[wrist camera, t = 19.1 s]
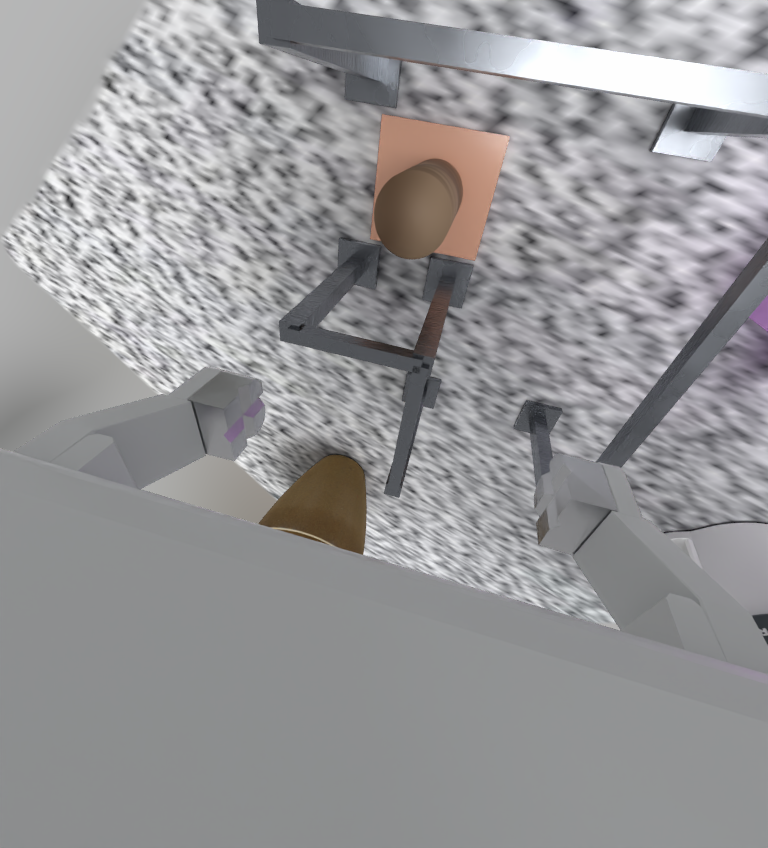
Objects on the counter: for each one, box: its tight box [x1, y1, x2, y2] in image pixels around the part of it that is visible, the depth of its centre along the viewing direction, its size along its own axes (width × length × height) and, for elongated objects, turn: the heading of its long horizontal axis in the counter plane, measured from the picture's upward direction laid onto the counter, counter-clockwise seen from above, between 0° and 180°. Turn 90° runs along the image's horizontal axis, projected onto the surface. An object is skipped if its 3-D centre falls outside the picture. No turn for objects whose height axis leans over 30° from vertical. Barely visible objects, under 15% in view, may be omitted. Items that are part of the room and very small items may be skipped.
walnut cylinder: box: [374, 159, 463, 259], centre depth 27 cm, size 5×5×10 cm
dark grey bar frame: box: [256, 0, 768, 518], centre depth 28 cm, size 31×27×16 cm
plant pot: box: [259, 455, 366, 555], centre depth 51 cm, size 15×15×16 cm
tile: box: [370, 114, 510, 261], centre depth 31 cm, size 9×10×1 cm
